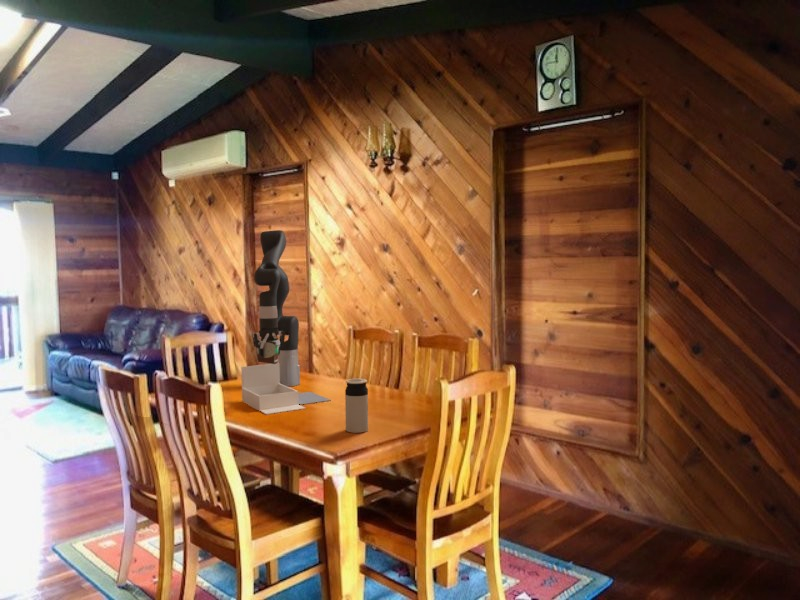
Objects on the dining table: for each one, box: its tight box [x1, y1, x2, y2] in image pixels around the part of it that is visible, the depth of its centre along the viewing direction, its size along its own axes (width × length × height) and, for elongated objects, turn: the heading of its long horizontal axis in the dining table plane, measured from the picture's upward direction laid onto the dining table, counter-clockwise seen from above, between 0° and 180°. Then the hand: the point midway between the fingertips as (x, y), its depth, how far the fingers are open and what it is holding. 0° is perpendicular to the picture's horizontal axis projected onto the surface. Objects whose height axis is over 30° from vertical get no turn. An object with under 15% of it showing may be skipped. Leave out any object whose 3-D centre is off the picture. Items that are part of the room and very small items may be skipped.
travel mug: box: [344, 378, 369, 434], centre depth 229 cm, size 8×8×18 cm
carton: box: [240, 362, 307, 416], centre depth 268 cm, size 17×27×15 cm, turn 34°
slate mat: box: [298, 391, 332, 406], centre depth 281 cm, size 14×20×1 cm
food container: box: [255, 337, 280, 364], centre depth 271 cm, size 12×6×10 cm, turn 59°
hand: (269, 356), depth 270 cm, fingers closed on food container, 6 cm apart
